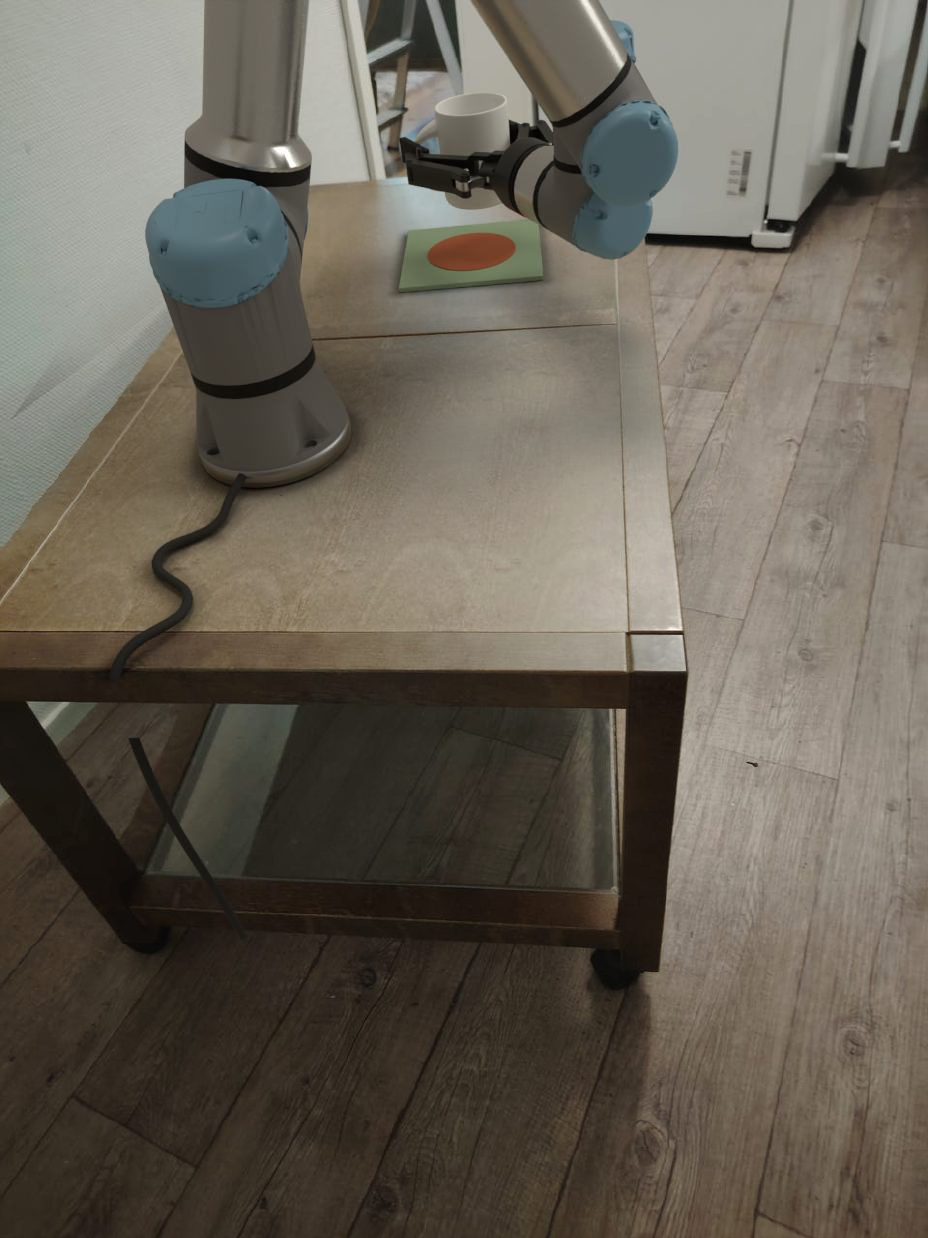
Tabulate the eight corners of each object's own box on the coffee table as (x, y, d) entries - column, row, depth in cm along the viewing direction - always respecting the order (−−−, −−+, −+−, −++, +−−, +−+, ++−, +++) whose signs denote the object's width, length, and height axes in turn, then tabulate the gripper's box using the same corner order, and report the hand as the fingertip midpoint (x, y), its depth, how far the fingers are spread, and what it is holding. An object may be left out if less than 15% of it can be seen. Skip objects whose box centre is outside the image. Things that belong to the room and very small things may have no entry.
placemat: (543, 280, 110) (543, 274, 110) (399, 292, 112) (398, 287, 111) (538, 222, 123) (538, 217, 122) (408, 234, 124) (408, 229, 124)
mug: (418, 193, 116) (405, 101, 108) (510, 180, 115) (503, 87, 108) (419, 219, 109) (406, 123, 102) (517, 205, 109) (510, 108, 101)
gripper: (448, 250, 95) (366, 194, 110) (630, 189, 102) (530, 144, 116) (439, 176, 90) (354, 127, 104) (632, 116, 97) (527, 79, 111)
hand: (446, 136), depth 110 cm, fingers closed on mug, 11 cm apart
